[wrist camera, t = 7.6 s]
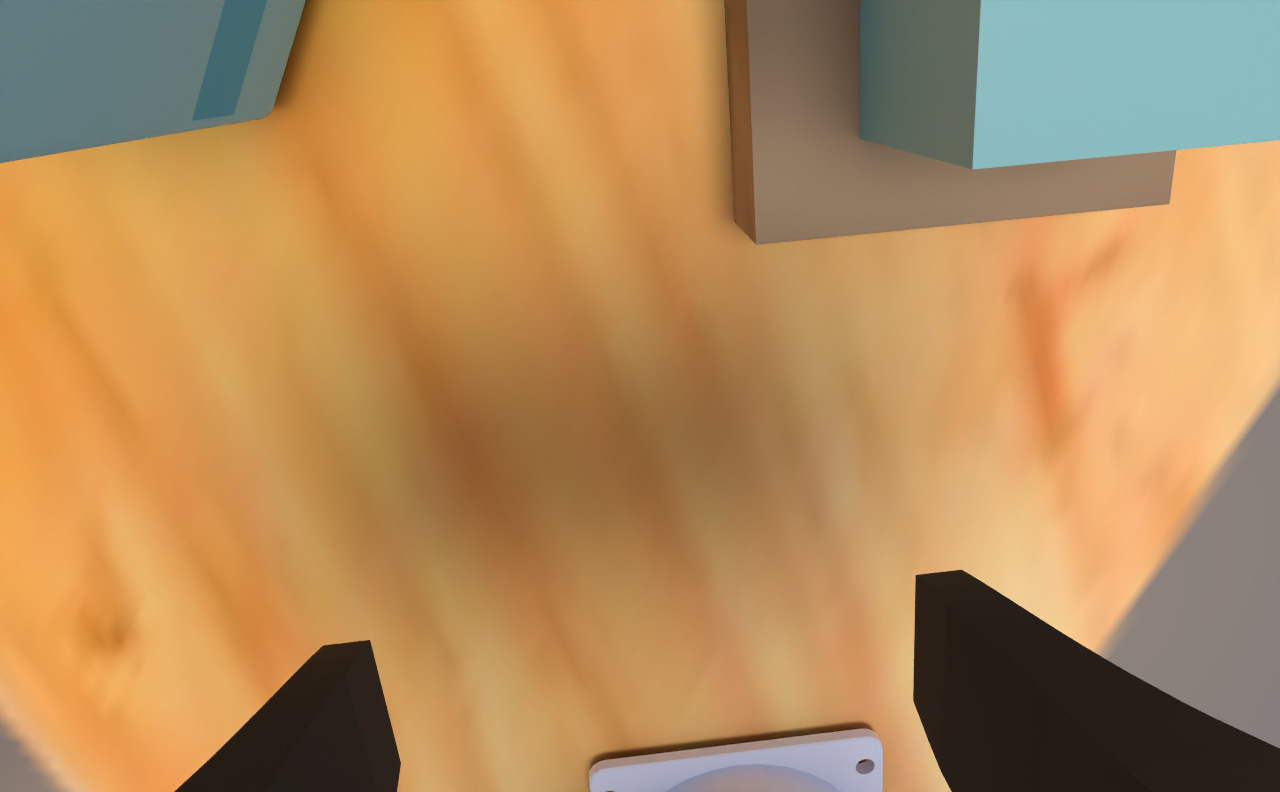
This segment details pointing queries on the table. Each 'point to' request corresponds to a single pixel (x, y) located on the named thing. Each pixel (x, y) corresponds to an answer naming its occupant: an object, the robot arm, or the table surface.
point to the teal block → (1066, 77)
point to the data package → (135, 69)
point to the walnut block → (873, 144)
